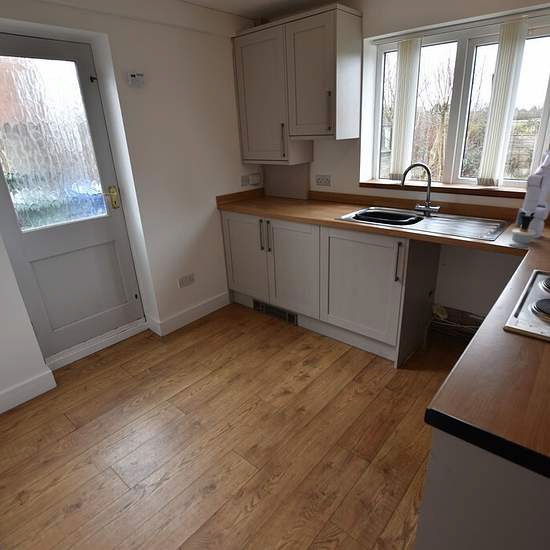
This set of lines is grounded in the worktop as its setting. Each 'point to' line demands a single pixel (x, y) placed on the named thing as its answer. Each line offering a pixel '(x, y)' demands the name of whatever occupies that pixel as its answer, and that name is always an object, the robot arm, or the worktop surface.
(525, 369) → the worktop surface
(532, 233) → the lid
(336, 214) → the worktop surface
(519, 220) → the flask
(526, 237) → the bowl
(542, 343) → the worktop surface
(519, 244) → the mat
